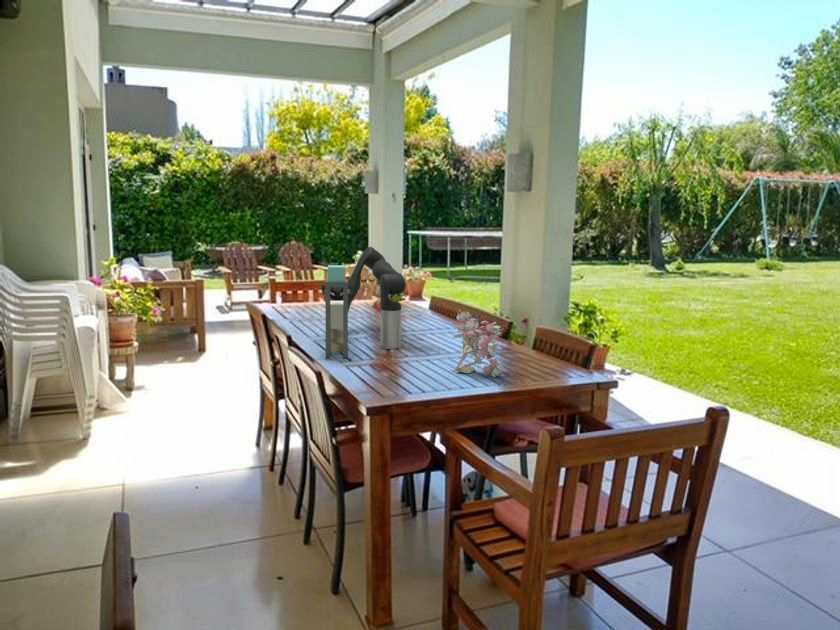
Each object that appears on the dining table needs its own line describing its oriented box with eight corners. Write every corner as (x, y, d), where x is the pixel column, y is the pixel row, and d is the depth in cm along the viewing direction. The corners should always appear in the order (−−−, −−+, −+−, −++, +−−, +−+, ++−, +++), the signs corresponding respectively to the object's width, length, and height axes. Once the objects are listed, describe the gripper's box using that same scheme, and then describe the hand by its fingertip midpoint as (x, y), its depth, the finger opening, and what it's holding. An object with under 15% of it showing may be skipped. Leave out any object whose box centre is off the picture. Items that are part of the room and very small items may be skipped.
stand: (347, 353, 280) (347, 279, 275) (347, 359, 269) (347, 282, 264) (326, 353, 279) (326, 279, 274) (325, 359, 268) (325, 282, 263)
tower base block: (346, 346, 294) (346, 323, 293) (346, 352, 282) (346, 328, 281) (328, 346, 293) (328, 323, 292) (327, 352, 281) (327, 328, 280)
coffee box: (465, 348, 294) (466, 313, 292) (479, 349, 293) (480, 314, 290) (462, 353, 285) (463, 316, 283) (476, 353, 284) (477, 317, 281)
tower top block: (346, 323, 293) (346, 300, 291) (346, 328, 281) (346, 304, 279) (328, 323, 292) (328, 300, 290) (327, 328, 280) (327, 304, 278)
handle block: (345, 277, 285) (345, 263, 284) (345, 282, 265) (345, 267, 264) (328, 276, 284) (328, 263, 283) (327, 282, 264) (327, 267, 263)
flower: (455, 380, 232) (487, 318, 230) (429, 360, 252) (459, 303, 250) (497, 398, 241) (528, 338, 240) (469, 378, 261) (498, 323, 260)
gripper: (322, 290, 307) (321, 275, 292) (352, 290, 309) (353, 275, 294) (322, 304, 304) (321, 291, 289) (352, 304, 306) (353, 291, 291)
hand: (337, 283), depth 291 cm, fingers open, 8 cm apart
